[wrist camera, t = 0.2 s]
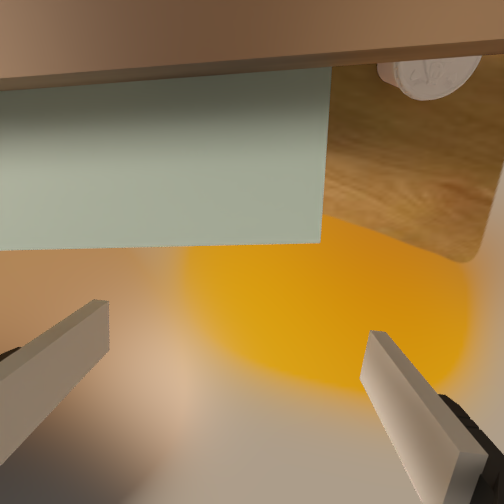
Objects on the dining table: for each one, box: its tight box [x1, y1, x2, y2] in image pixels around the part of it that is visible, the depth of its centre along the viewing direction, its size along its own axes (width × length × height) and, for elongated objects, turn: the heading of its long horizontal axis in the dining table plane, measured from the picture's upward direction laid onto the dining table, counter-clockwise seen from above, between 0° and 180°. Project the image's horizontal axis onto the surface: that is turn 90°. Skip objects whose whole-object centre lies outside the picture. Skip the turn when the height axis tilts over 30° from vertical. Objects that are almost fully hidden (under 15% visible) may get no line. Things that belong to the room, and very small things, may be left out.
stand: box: [0, 67, 332, 250], centre depth 19 cm, size 14×14×30 cm
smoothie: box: [377, 55, 482, 101], centre depth 24 cm, size 6×6×14 cm
